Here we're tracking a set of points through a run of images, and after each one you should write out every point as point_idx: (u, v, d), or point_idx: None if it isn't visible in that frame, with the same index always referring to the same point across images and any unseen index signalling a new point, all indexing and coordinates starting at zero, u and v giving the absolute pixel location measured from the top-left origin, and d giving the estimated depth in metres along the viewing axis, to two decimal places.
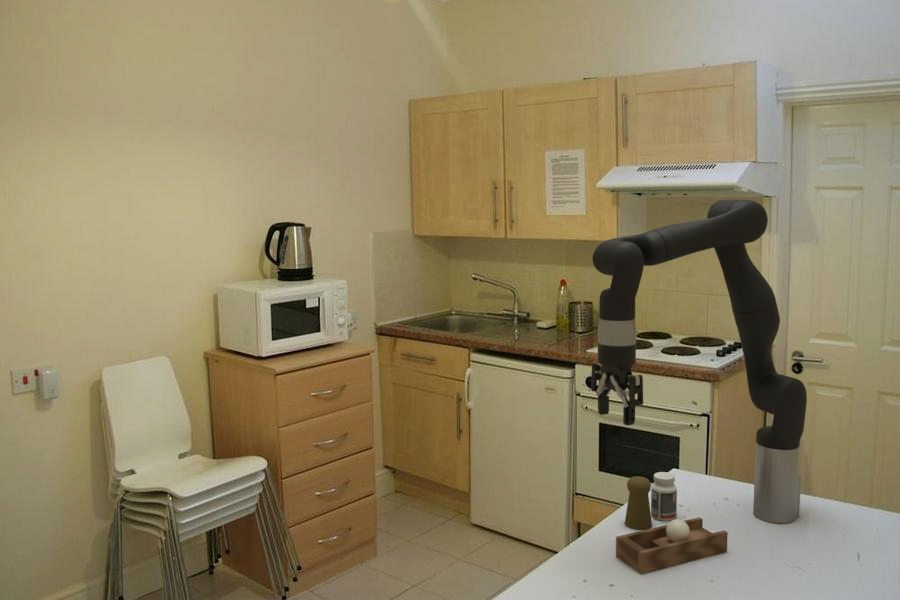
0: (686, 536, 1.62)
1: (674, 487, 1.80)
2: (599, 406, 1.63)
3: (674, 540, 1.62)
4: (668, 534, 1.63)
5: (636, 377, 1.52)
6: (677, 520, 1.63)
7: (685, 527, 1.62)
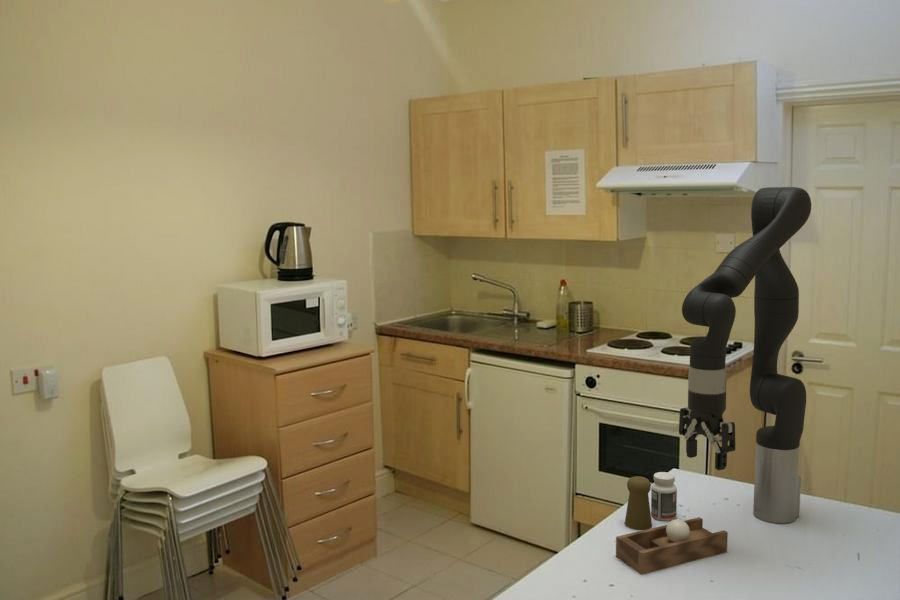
0: (686, 536, 1.62)
1: (674, 487, 1.80)
2: (688, 449, 1.68)
3: (674, 540, 1.62)
4: (668, 534, 1.63)
5: (729, 425, 1.58)
6: (677, 520, 1.63)
7: (685, 527, 1.62)
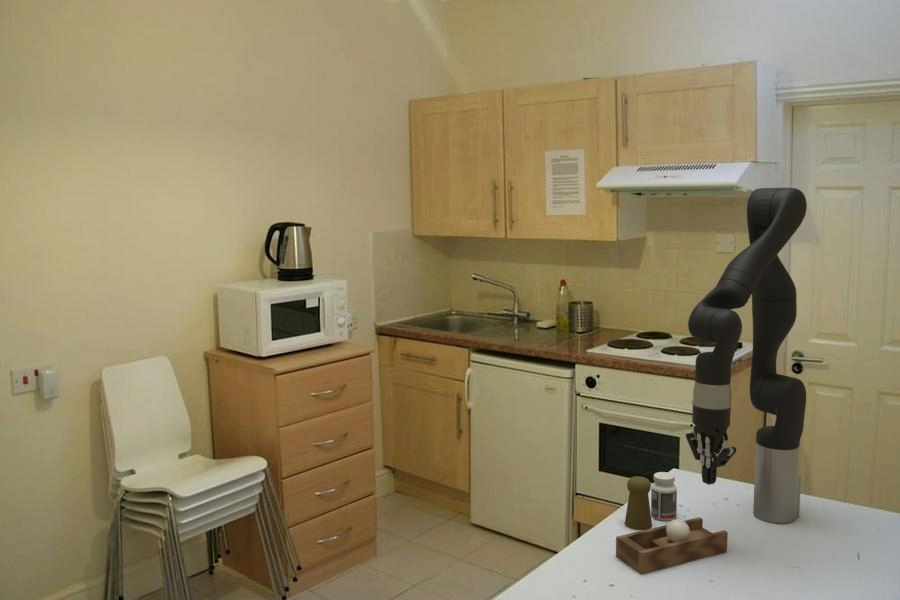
0: (686, 536, 1.62)
1: (674, 487, 1.80)
2: (704, 475, 1.65)
3: (674, 540, 1.62)
4: (668, 534, 1.63)
5: (730, 451, 1.59)
6: (677, 520, 1.63)
7: (685, 527, 1.62)
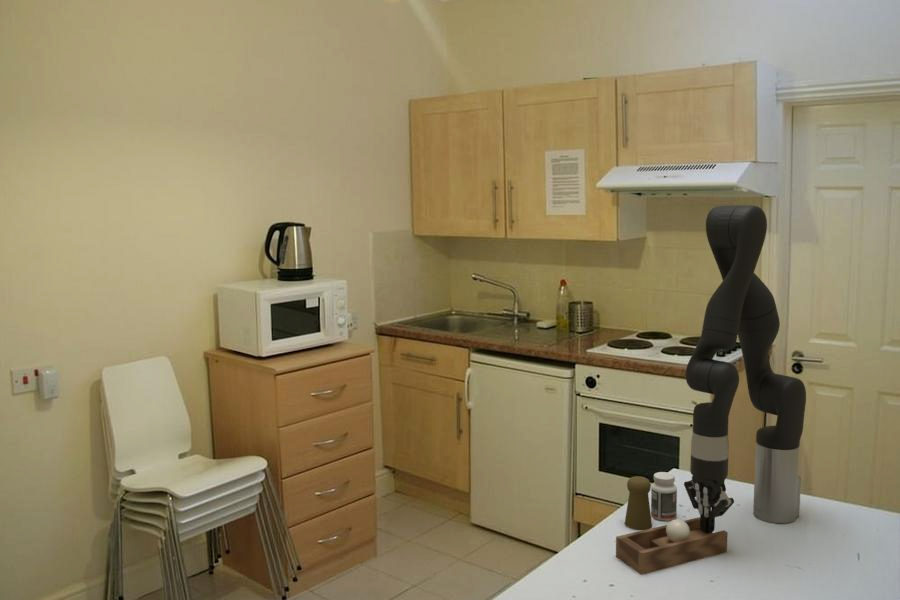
0: (686, 536, 1.62)
1: (674, 487, 1.80)
2: (702, 524, 1.67)
3: (674, 540, 1.62)
4: (668, 534, 1.63)
5: (728, 503, 1.60)
6: (677, 520, 1.63)
7: (685, 527, 1.62)
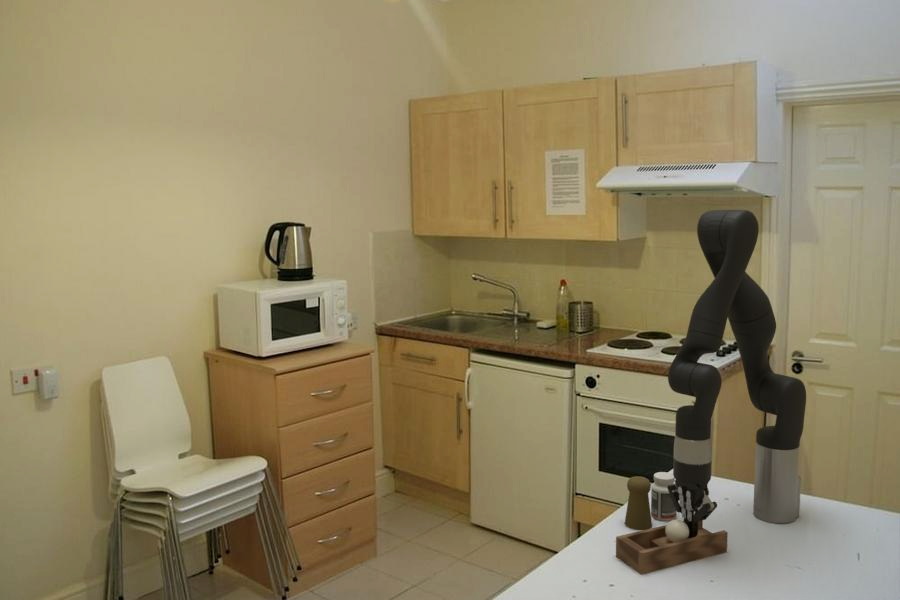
0: (685, 536, 1.62)
1: None
2: None
3: (674, 541, 1.62)
4: (667, 535, 1.63)
5: (711, 507, 1.58)
6: (676, 520, 1.63)
7: (684, 527, 1.62)
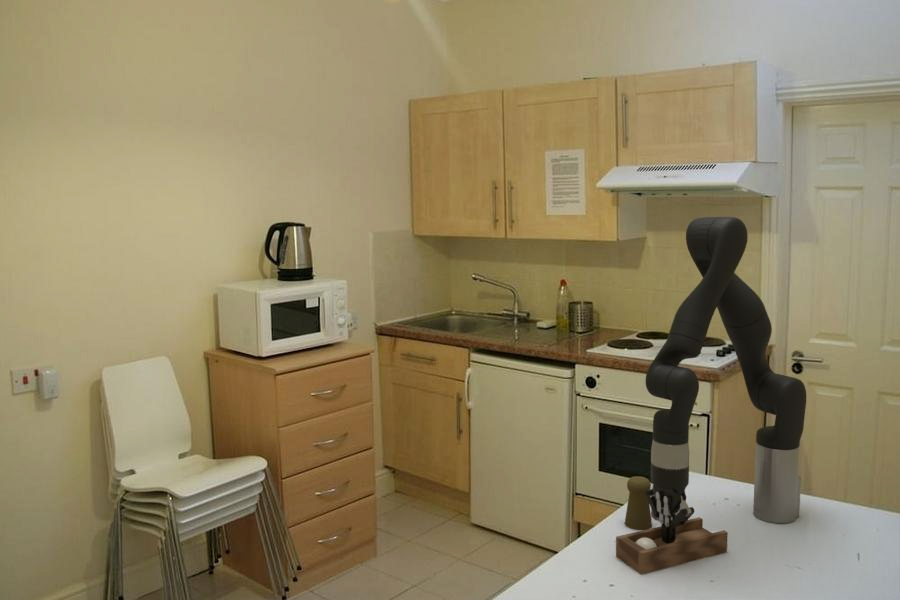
0: None
1: None
2: (663, 534, 1.63)
3: (656, 546, 1.61)
4: None
5: (688, 512, 1.56)
6: None
7: None
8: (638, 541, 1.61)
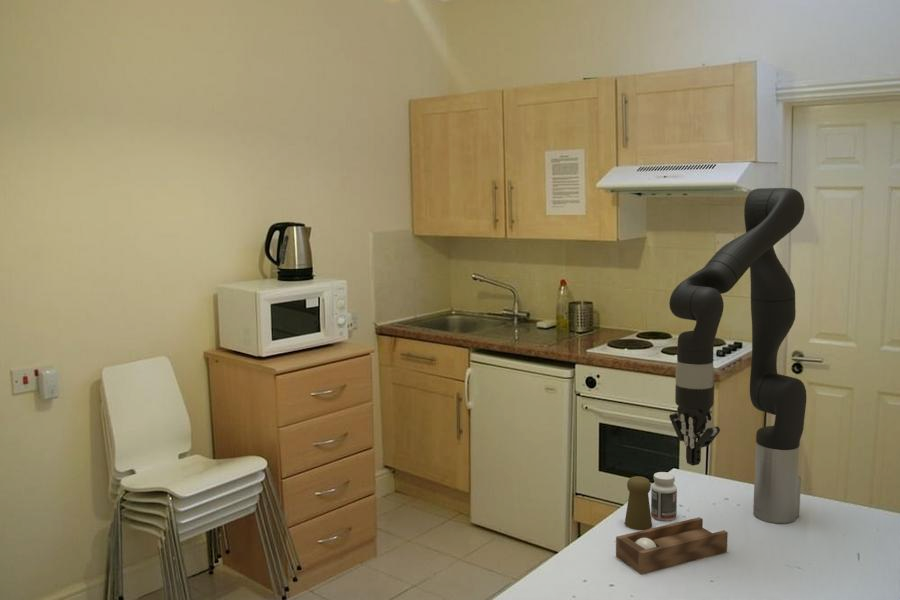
0: None
1: (674, 487, 1.80)
2: (688, 456, 1.63)
3: None
4: None
5: (714, 431, 1.56)
6: None
7: None
8: (637, 542, 1.60)
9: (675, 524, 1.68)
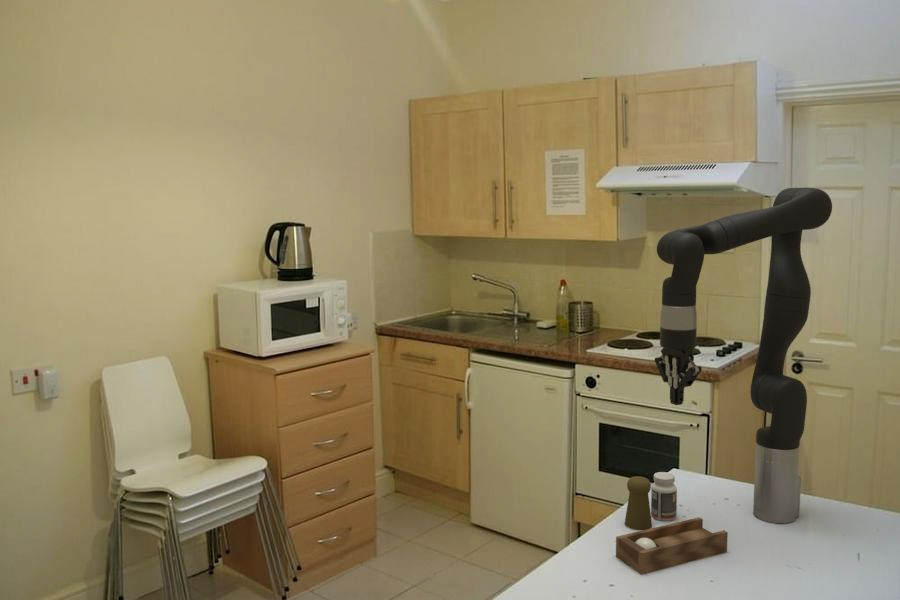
0: None
1: (674, 487, 1.80)
2: (671, 396, 1.71)
3: None
4: None
5: (696, 370, 1.64)
6: None
7: None
8: (637, 542, 1.60)
9: (675, 524, 1.68)
